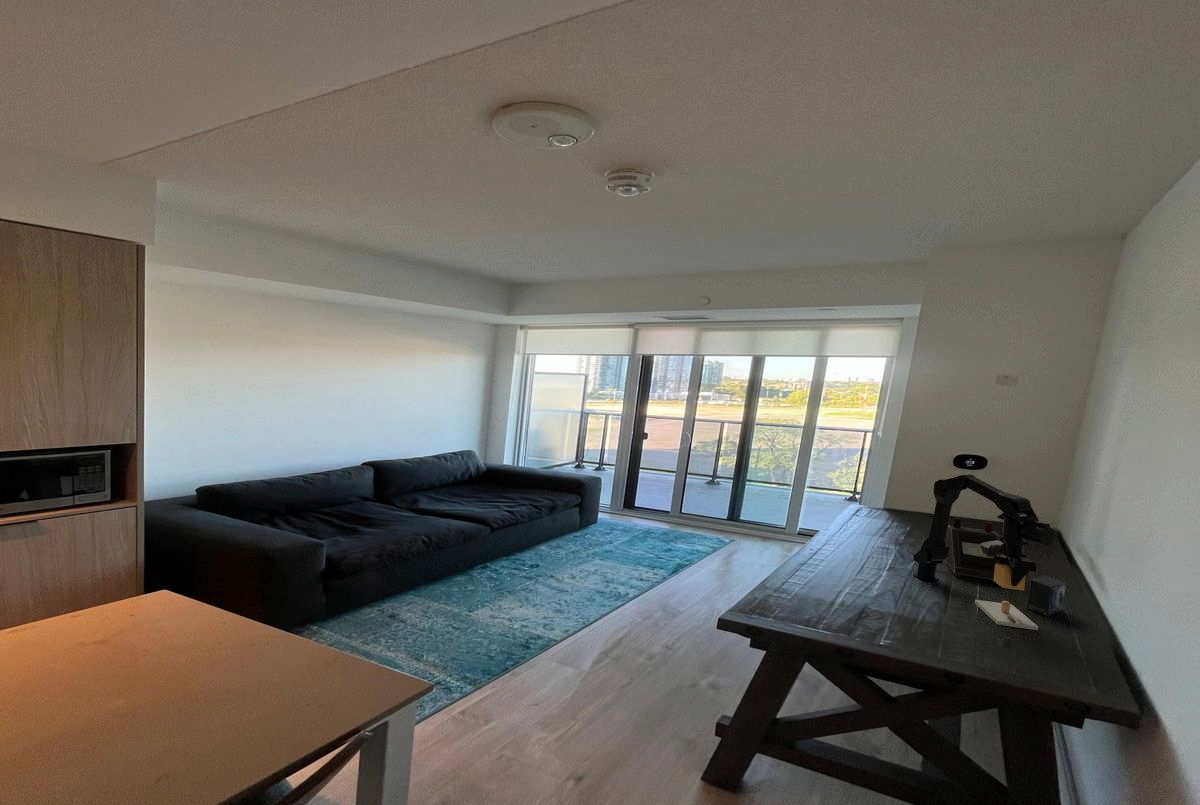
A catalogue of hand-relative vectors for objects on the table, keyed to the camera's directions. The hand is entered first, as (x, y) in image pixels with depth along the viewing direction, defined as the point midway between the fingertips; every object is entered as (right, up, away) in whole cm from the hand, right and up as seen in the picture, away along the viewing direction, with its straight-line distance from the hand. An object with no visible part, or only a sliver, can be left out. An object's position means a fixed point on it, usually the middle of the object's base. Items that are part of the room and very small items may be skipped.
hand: (1008, 582), depth 174 cm
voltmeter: (+15, -10, +38) cm, 42 cm away
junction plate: (-1, -11, +1) cm, 11 cm away
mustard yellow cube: (0, -1, 0) cm, 1 cm away
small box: (+17, -12, +7) cm, 22 cm away
